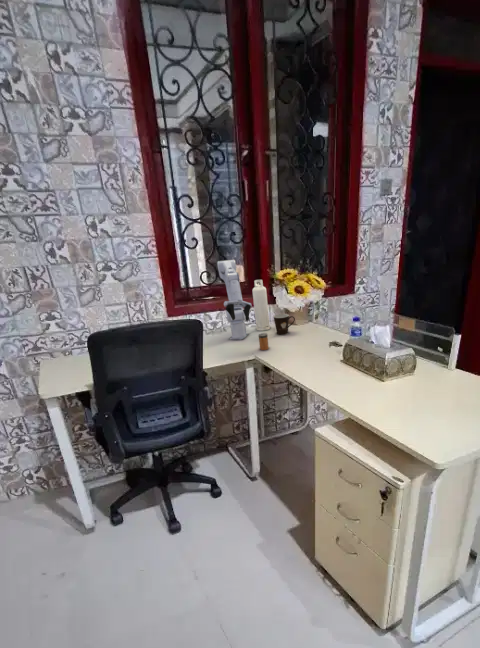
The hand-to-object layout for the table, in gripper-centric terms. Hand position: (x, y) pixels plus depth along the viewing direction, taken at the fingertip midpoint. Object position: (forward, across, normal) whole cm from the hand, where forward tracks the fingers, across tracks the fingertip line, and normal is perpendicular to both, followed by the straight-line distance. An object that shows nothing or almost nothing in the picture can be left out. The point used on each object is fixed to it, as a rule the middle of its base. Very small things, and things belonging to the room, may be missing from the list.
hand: (240, 319), depth 208 cm
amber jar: (+13, +13, +5) cm, 20 cm away
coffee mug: (0, +35, +15) cm, 38 cm away
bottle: (-10, +30, +29) cm, 43 cm away
